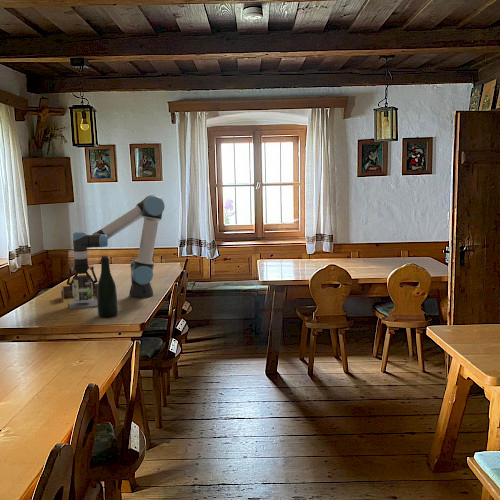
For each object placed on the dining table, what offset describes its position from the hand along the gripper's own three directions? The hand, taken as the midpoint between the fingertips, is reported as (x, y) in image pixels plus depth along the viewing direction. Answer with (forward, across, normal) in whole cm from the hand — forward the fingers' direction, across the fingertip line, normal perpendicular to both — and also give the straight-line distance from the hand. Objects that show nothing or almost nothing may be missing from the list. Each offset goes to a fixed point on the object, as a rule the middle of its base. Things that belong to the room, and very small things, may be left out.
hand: (83, 295), depth 301 cm
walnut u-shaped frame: (+6, 0, -20) cm, 21 cm away
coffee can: (+3, 0, 0) cm, 3 cm away
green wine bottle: (+6, -12, +31) cm, 34 cm away
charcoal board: (+6, 0, 0) cm, 6 cm away
